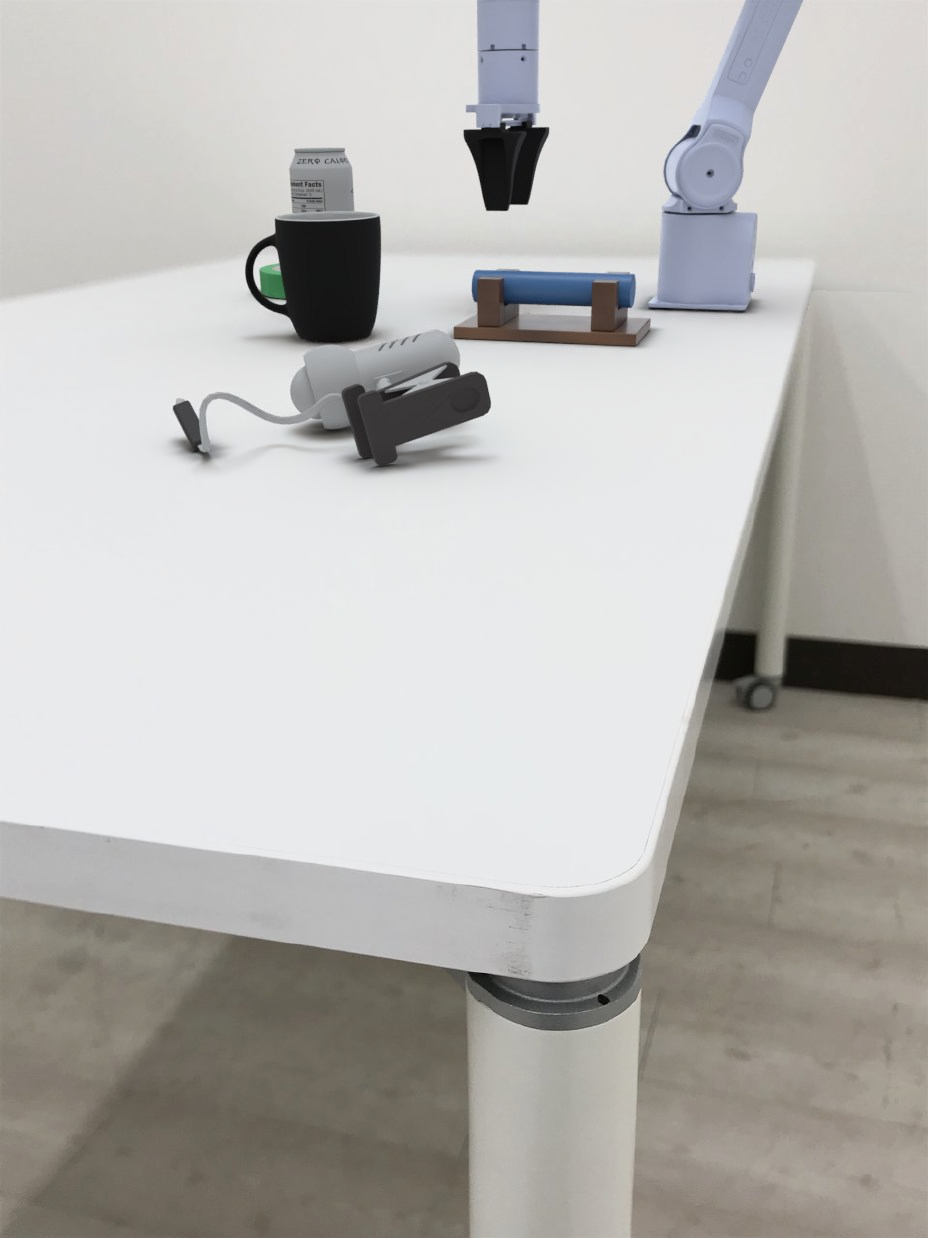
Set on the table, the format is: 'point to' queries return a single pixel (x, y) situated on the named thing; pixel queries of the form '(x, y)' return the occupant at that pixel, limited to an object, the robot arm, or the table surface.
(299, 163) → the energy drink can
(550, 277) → the handle
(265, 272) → the tape roll
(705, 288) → the robot arm
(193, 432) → the clip-on lamp
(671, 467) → the table surface
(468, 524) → the table surface
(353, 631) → the table surface
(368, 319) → the mug
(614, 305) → the holder
